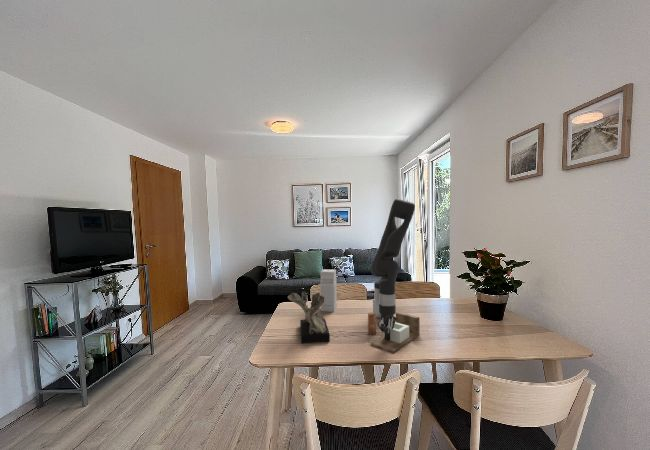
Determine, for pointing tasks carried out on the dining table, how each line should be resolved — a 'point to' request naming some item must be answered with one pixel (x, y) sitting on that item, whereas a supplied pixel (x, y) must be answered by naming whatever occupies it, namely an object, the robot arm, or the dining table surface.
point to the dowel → (372, 323)
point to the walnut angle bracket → (413, 333)
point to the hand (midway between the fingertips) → (387, 339)
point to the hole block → (399, 333)
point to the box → (328, 290)
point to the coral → (311, 319)
